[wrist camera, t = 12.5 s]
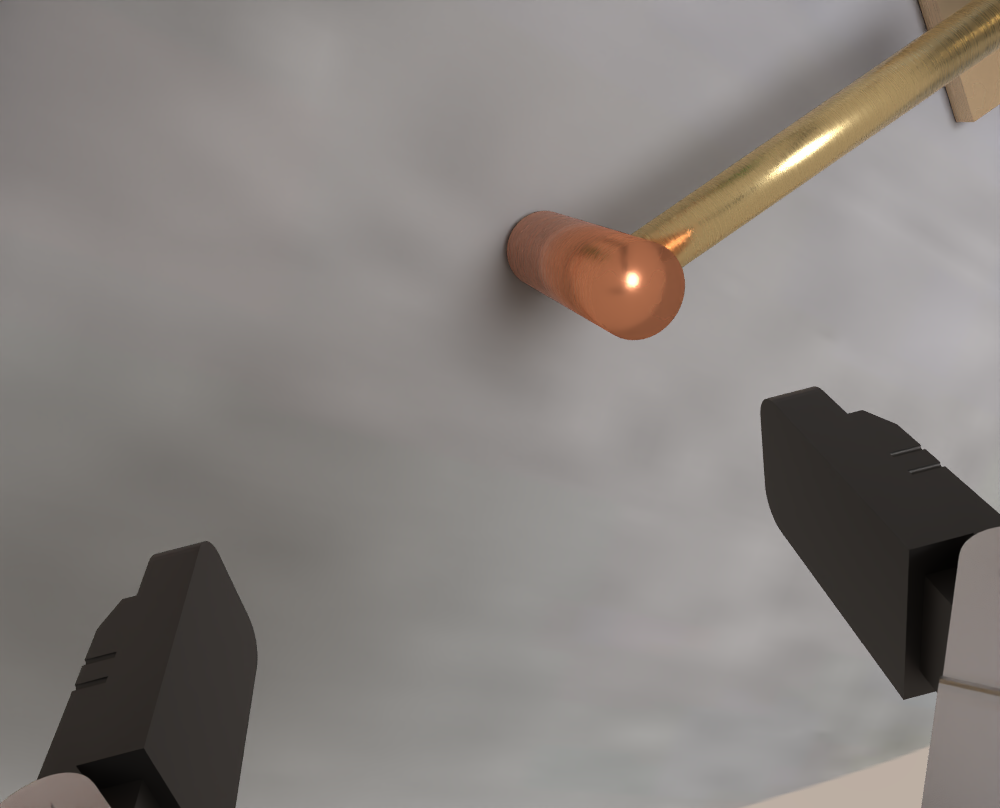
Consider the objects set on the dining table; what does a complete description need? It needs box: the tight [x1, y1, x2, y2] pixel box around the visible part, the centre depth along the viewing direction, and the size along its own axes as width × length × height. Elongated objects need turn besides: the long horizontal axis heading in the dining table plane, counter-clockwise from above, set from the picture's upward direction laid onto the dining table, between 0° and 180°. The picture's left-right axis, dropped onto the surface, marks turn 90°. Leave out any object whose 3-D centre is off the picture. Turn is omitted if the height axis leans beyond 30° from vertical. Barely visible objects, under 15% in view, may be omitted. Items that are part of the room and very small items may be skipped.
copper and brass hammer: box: [507, 0, 1000, 340], centre depth 30 cm, size 20×3×9 cm, turn 122°
